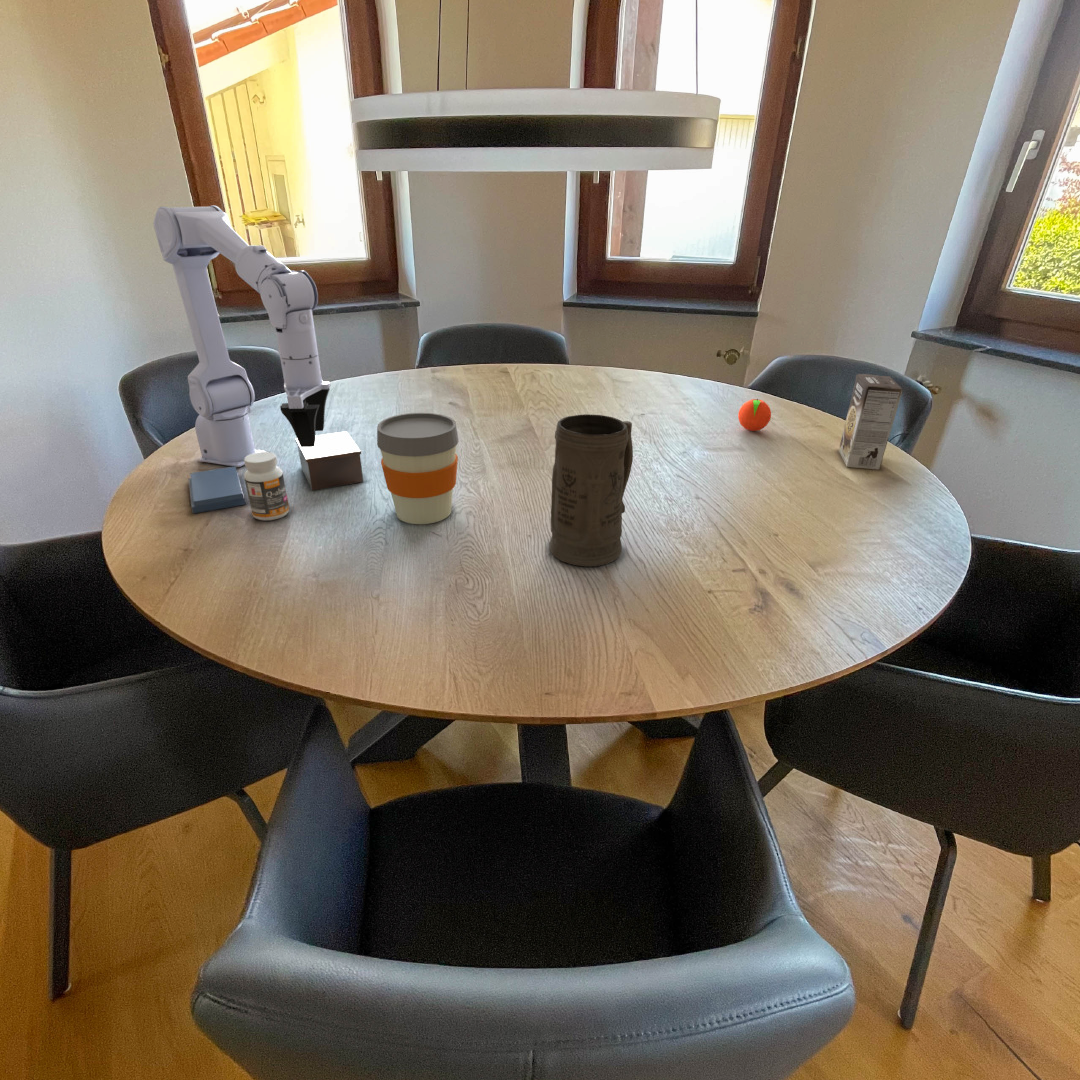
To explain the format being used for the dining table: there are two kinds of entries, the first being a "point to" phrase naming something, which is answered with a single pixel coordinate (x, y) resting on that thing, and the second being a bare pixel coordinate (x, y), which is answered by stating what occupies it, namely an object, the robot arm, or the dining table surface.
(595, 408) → the dining table surface
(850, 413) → the coffee box
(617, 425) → the beer stein
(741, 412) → the clementine
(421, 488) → the reusable coffee cup
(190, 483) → the blue flat block
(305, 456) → the walnut box
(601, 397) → the dining table surface
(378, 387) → the dining table surface
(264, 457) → the pill bottle
